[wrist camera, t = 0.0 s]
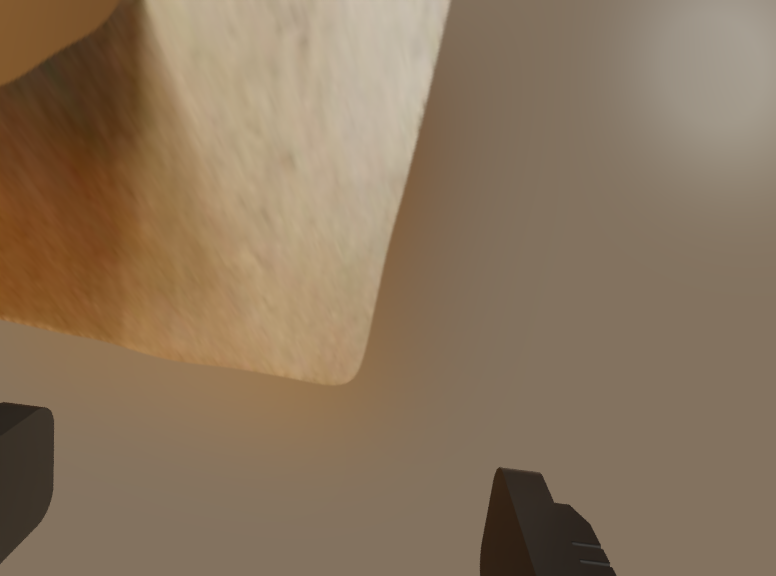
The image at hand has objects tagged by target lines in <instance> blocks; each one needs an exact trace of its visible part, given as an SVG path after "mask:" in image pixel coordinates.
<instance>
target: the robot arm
mask: <svg viewBox="0 0 776 576" xmlns="http://www.w3.org/2000/svg"><path fill="white" fill-rule="evenodd" d="M53 458H54V419H53V415H52V412H51V411H50V410H49V409H48V408H45V407H37V406H30V405H22V404H14V403H5V402H3V403H0V564H1V563H2V561H3V560H4V559H5V558H6V557H7V556H8V555H9V554H10V553H11V552H12V551H13V550H14V549H15V548H16V547H17V546H18V545H19V544H20V543H21V542H22V541H23V540H24V539H25V538H26V537H27V536H28V535H29V534H30V532H32V531H33V530H34V529H35V528H36V527H37V526H38V524H39V523H40V522H41V520H42V519H43V517H44V516H45V514H46V512H47V510H48V507H49V505H50V502H51V498H52V492H53V466H54V465H53V464H54V459H53ZM480 576H616V574H615V572H614V570H613V568H612V567H610V562H609V560H608V558H607V556H606V554H605V553H604V550H603V549H601V545H600V543H599V541H598V539H597V537H596V535H595V533H594V531H593V529H592V527H591V525H590V524H589V523H588V522H587V521H586V520H585V519H584V518H583V517H582V516H581V515H580V514H578V513H577V512H576V511H575V510H574V509H573V508H572V507H571V506H570V505H567V504H559V503H554V501H553V499H552V497H551V494H550V492H549V490H548V487H547V485H546V483H545V481H544V478H543V476H542V474H541V473H539V472H532V471H524V470H516V469H509V468H500V467H499V468H498V469H497V471H496V473H495V476H494V480H493V486H492V491H491V496H490V502H489V507H488V513H487V518H486V523H485V528H484V534H483V539H482V545H481V554H480Z"/></svg>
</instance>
